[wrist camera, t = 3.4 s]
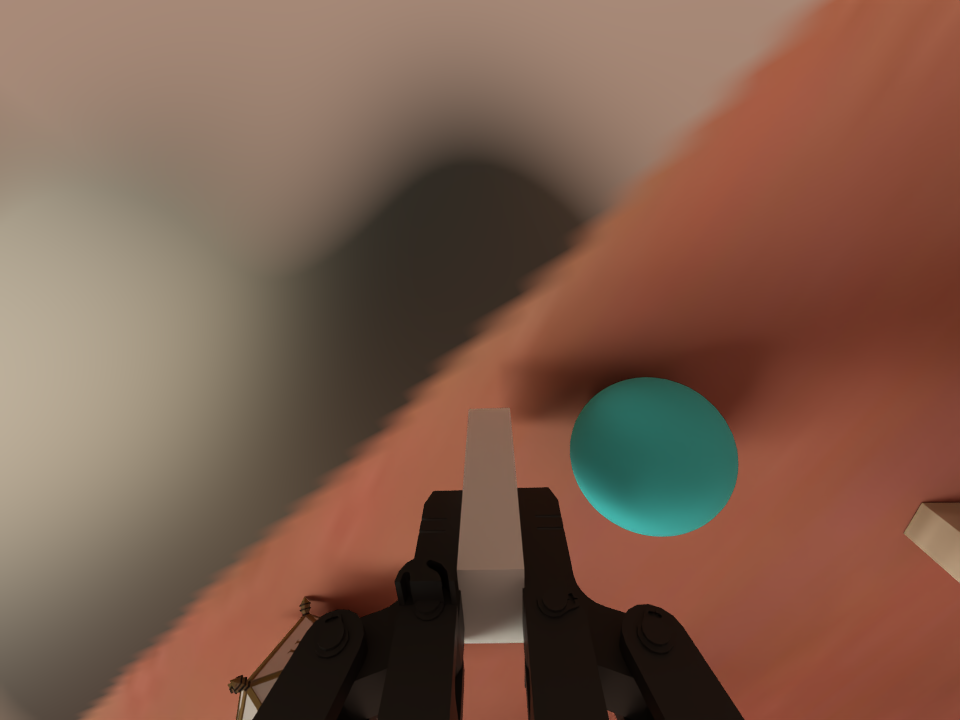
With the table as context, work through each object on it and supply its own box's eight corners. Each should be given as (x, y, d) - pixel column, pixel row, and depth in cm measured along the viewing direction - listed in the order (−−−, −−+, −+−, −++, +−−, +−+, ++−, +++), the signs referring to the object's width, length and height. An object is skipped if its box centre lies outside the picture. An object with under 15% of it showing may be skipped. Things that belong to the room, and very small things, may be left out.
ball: (678, 462, 18) (749, 573, 13) (555, 463, 18) (580, 574, 13) (704, 351, 16) (803, 436, 11) (563, 353, 16) (597, 438, 11)
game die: (356, 547, 26) (353, 622, 17) (419, 661, 27) (452, 798, 17) (213, 640, 24) (113, 793, 14) (285, 766, 24) (234, 1000, 14)
